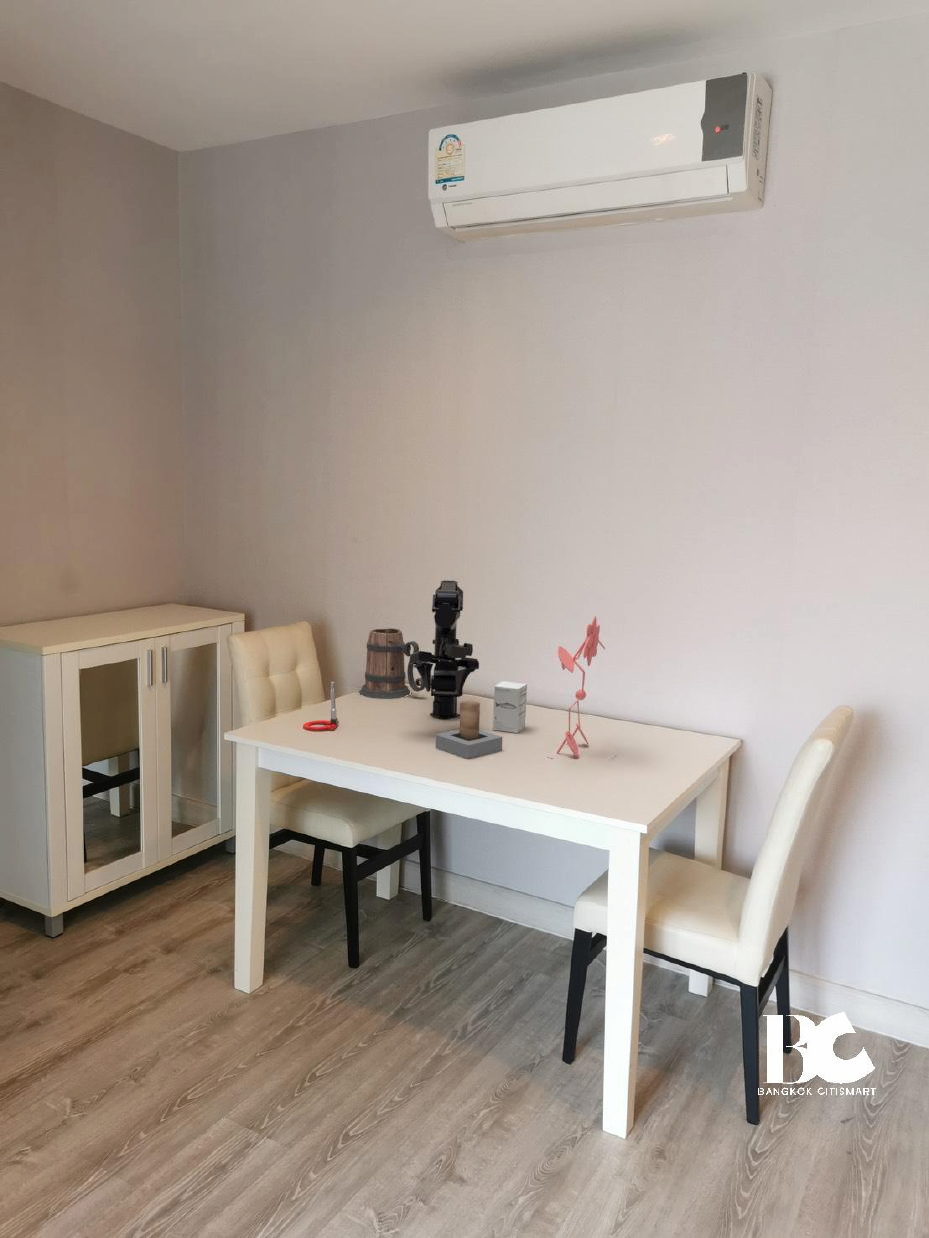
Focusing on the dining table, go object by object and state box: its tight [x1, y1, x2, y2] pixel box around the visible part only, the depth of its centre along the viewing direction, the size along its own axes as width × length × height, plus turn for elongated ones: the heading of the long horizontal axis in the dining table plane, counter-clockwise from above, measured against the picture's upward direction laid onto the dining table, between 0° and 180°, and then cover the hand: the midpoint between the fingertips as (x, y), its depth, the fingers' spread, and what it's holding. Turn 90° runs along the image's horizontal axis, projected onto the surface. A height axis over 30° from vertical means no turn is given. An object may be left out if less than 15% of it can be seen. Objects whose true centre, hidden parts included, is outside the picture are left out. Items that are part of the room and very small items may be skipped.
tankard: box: [358, 627, 426, 700], centre depth 293 cm, size 24×17×20 cm
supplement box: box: [492, 680, 528, 734], centre depth 257 cm, size 7×7×13 cm
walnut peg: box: [459, 700, 481, 741], centre depth 238 cm, size 5×5×12 cm
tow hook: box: [302, 681, 340, 732], centre depth 254 cm, size 8×13×9 cm
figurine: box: [546, 615, 616, 760], centre depth 235 cm, size 15×26×35 cm, turn 158°
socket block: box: [435, 728, 503, 760], centre depth 238 cm, size 12×12×4 cm
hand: (443, 693), depth 249 cm, fingers open, 9 cm apart
